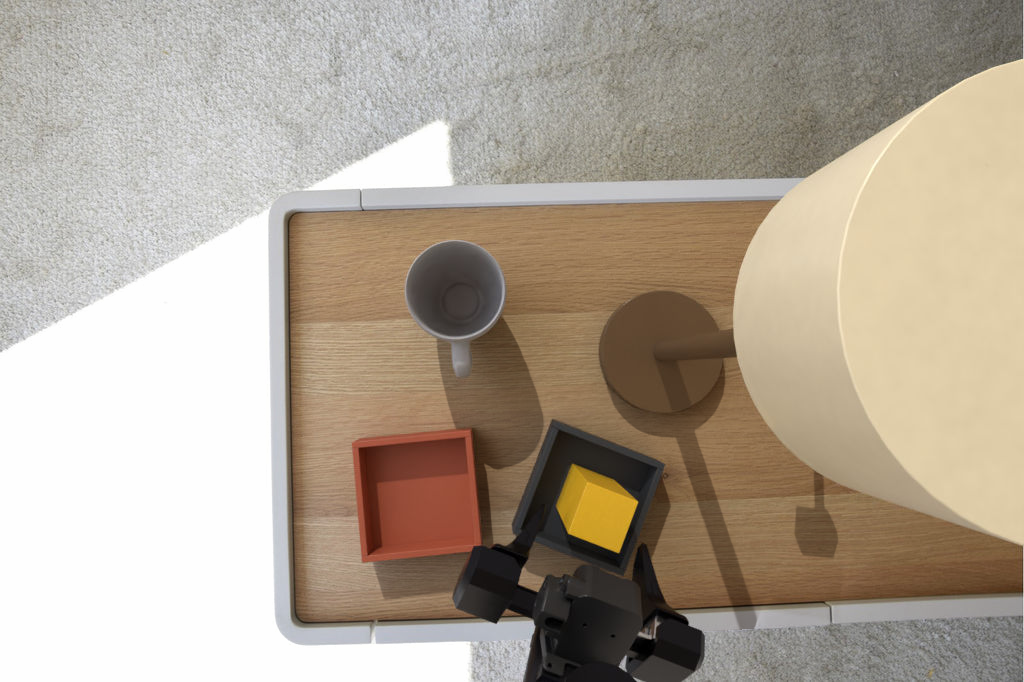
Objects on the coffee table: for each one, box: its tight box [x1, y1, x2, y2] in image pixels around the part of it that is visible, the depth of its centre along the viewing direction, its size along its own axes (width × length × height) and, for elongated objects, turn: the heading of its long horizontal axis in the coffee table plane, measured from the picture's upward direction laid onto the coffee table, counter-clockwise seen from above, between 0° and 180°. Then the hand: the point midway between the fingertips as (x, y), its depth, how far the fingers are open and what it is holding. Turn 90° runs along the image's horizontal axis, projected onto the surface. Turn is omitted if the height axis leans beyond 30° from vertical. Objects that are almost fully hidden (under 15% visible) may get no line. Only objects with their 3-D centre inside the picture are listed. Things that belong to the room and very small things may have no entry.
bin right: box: [511, 418, 666, 577], centre depth 63 cm, size 11×11×4 cm
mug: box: [404, 239, 508, 379], centre depth 61 cm, size 12×9×10 cm
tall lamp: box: [598, 58, 1024, 547], centre depth 42 cm, size 14×14×48 cm
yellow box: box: [556, 463, 638, 553], centre depth 59 cm, size 4×4×11 cm
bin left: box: [351, 426, 484, 564], centre depth 63 cm, size 11×11×4 cm
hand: (592, 525), depth 56 cm, fingers open, 9 cm apart
